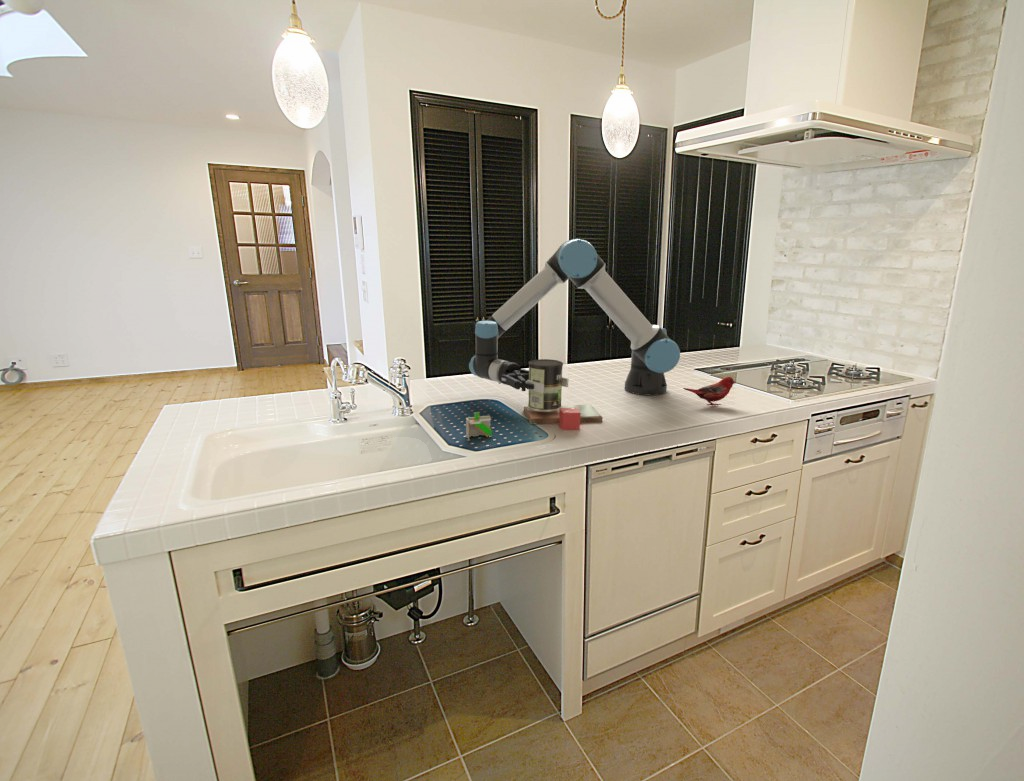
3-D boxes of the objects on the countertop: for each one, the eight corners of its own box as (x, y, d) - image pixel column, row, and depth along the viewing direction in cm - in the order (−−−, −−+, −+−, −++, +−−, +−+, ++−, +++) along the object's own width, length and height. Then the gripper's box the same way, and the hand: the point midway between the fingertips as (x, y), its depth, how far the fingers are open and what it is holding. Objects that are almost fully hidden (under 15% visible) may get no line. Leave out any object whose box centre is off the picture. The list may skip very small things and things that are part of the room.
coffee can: (563, 403, 166) (564, 359, 162) (559, 413, 156) (560, 366, 152) (530, 401, 168) (531, 358, 164) (525, 410, 158) (525, 365, 154)
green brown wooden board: (590, 409, 171) (590, 404, 171) (602, 421, 159) (602, 416, 158) (523, 411, 168) (523, 406, 168) (530, 424, 156) (530, 418, 155)
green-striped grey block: (494, 440, 144) (494, 412, 142) (469, 443, 142) (469, 414, 139) (490, 435, 147) (489, 408, 145) (466, 438, 145) (465, 410, 143)
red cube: (575, 423, 157) (576, 407, 155) (579, 429, 152) (580, 412, 151) (558, 424, 156) (559, 407, 155) (562, 429, 151) (563, 412, 150)
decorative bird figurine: (735, 407, 175) (738, 377, 172) (682, 407, 174) (685, 378, 171) (731, 404, 178) (734, 375, 175) (679, 404, 177) (682, 376, 174)
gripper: (529, 378, 181) (579, 391, 165) (478, 389, 166) (528, 404, 150) (530, 356, 179) (580, 367, 163) (478, 366, 164) (528, 379, 148)
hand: (555, 385), depth 157 cm, fingers closed on coffee can, 10 cm apart
